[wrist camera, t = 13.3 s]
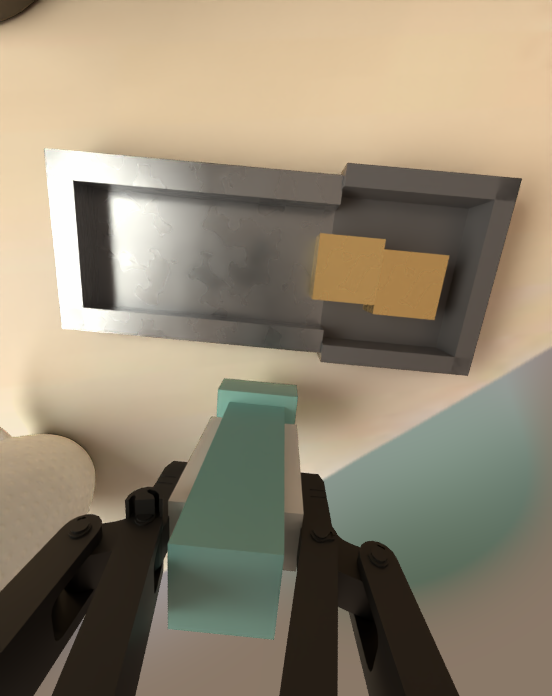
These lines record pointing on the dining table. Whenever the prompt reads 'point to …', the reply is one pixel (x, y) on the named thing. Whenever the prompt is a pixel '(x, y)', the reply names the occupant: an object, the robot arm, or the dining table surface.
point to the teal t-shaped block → (234, 519)
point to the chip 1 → (346, 268)
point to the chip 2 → (409, 284)
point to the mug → (39, 494)
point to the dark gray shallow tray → (188, 248)
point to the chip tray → (423, 237)
